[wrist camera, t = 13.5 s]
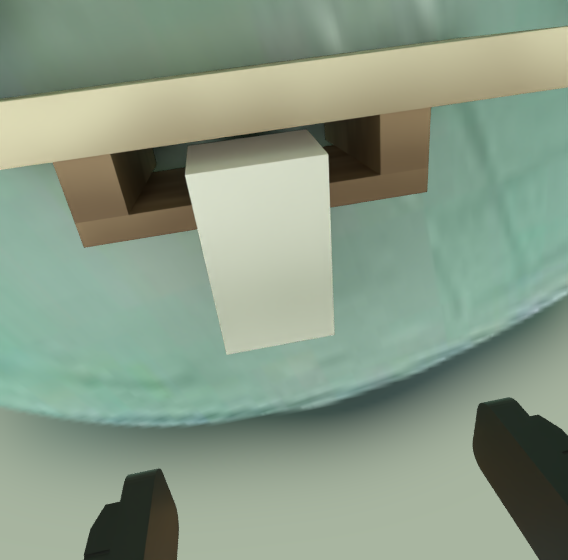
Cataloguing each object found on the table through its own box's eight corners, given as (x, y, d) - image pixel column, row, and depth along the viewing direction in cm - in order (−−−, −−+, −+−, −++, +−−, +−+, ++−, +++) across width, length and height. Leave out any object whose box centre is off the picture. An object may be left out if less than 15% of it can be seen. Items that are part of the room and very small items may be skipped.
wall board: (-23, 101, 22) (-185, 126, 13) (458, 38, 24) (604, 21, 15) (20, 203, 24) (-91, 282, 15) (451, 137, 26) (573, 173, 17)
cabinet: (190, 117, 22) (185, 174, 14) (285, 104, 22) (328, 153, 15) (222, 268, 27) (230, 368, 19) (298, 255, 27) (334, 349, 20)
